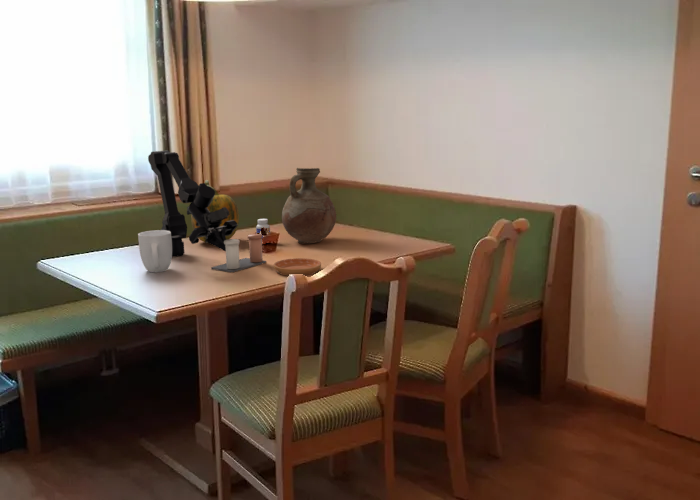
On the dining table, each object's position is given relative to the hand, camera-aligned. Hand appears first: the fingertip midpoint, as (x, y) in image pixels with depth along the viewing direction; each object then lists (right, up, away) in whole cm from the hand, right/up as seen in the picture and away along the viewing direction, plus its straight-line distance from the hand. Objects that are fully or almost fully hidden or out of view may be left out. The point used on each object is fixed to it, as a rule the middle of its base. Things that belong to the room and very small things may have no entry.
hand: (227, 250), depth 252 cm
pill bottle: (+8, +3, +43) cm, 44 cm away
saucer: (+24, -7, -3) cm, 26 cm away
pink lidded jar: (+9, -5, +9) cm, 13 cm away
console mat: (+3, -5, +6) cm, 9 cm away
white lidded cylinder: (+2, -7, 0) cm, 7 cm away
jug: (+26, +3, +44) cm, 51 cm away
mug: (-24, -7, +1) cm, 25 cm away
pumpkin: (-12, +3, +47) cm, 48 cm away
